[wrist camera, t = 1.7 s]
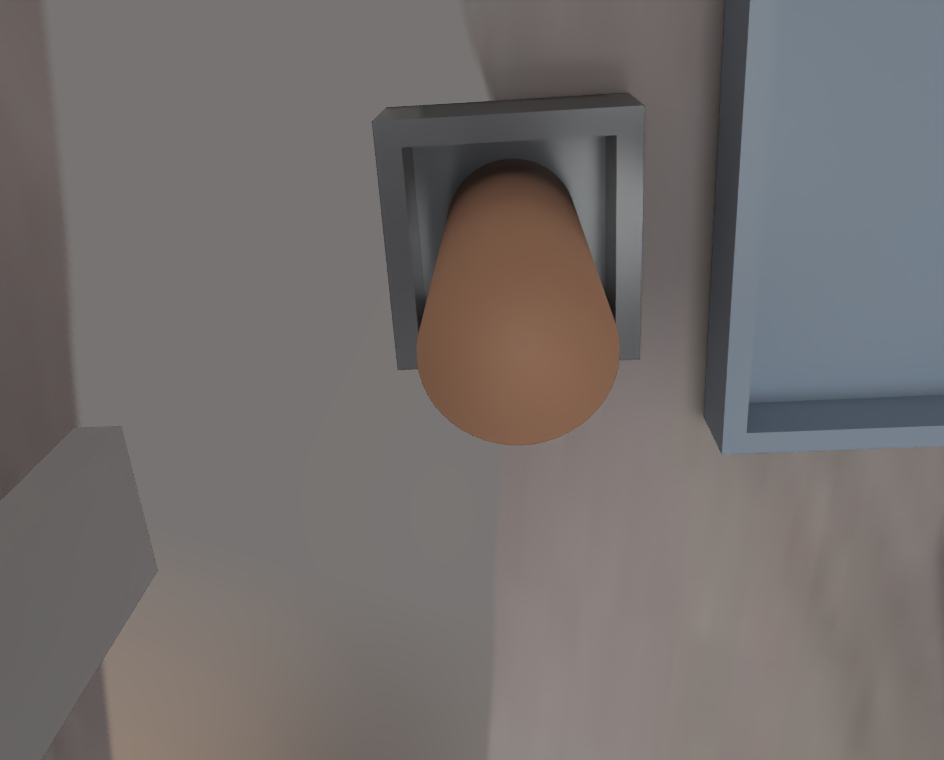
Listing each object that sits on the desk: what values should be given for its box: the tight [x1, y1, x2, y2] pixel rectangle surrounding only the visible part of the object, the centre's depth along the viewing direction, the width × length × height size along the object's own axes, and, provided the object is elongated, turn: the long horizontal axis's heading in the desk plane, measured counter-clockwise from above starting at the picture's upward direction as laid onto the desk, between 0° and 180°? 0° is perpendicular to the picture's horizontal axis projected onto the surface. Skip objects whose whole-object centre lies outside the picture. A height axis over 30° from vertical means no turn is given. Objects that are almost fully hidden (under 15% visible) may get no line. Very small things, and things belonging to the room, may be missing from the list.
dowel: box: [417, 159, 620, 445], centre depth 24 cm, size 4×4×12 cm
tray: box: [704, 0, 944, 454], centre depth 28 cm, size 13×18×3 cm
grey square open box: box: [372, 93, 645, 370], centre depth 29 cm, size 8×8×4 cm
